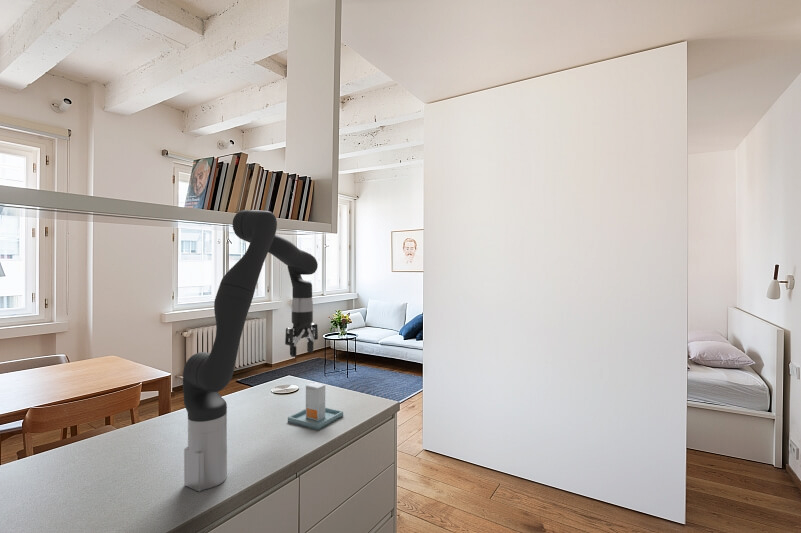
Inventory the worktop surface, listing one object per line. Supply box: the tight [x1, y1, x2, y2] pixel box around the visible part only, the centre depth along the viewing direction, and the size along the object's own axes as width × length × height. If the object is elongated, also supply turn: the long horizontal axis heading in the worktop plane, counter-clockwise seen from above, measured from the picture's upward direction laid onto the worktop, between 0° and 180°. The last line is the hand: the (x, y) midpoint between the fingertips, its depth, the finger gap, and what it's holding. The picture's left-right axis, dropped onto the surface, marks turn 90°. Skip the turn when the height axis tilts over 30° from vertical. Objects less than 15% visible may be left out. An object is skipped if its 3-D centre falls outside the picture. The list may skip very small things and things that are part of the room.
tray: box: [287, 406, 344, 431], centre depth 145 cm, size 14×14×2 cm
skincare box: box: [305, 382, 326, 421], centre depth 145 cm, size 6×4×12 cm
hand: (302, 354), depth 146 cm, fingers open, 8 cm apart
